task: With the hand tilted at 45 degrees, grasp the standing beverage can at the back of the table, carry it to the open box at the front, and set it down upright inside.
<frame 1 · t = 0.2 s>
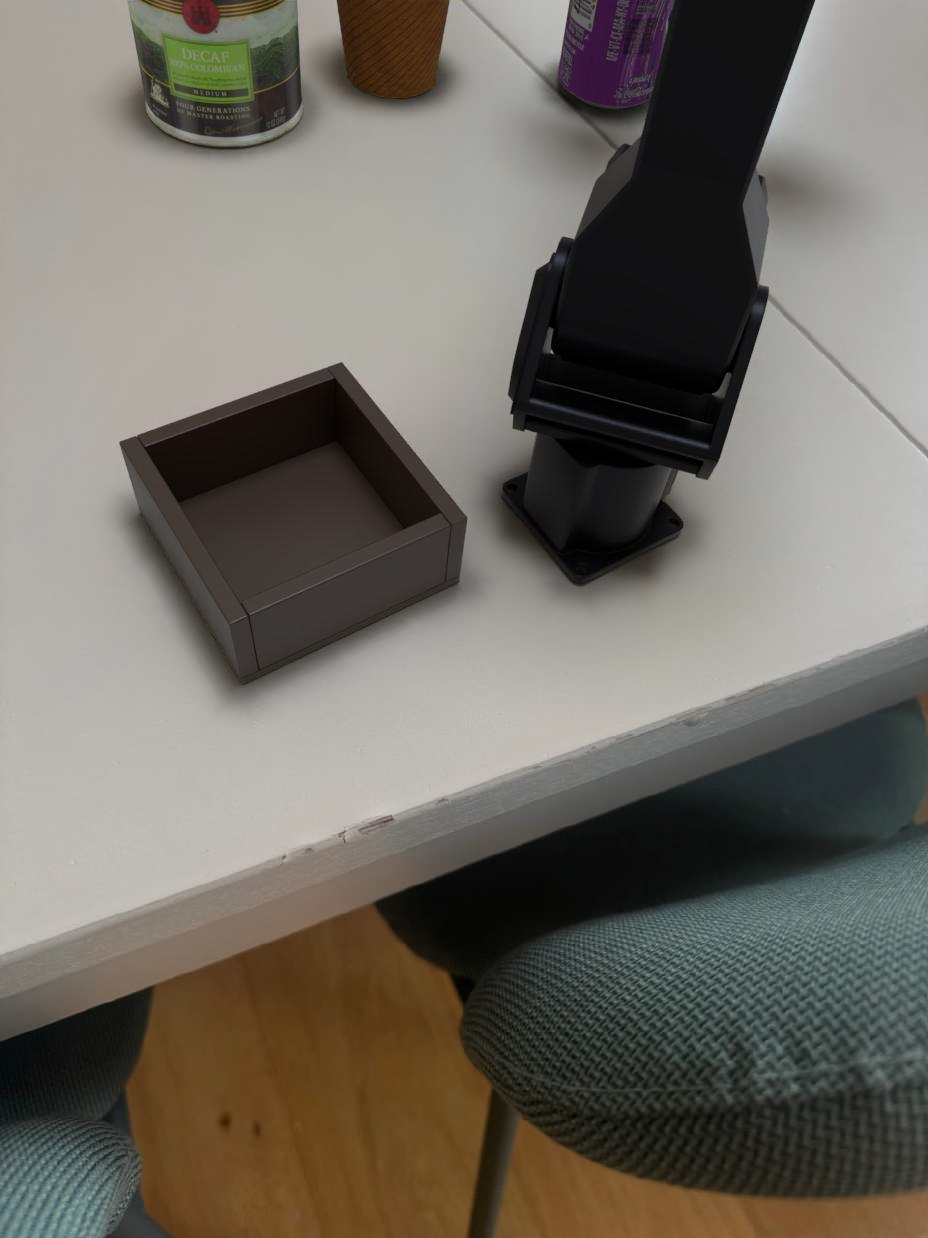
open box: (298, 546, 43), on the table
coffee can: (227, 108, 63), on the table
beverage can: (604, 93, 68), on the table
disposable coffee cup: (391, 78, 67), on the table
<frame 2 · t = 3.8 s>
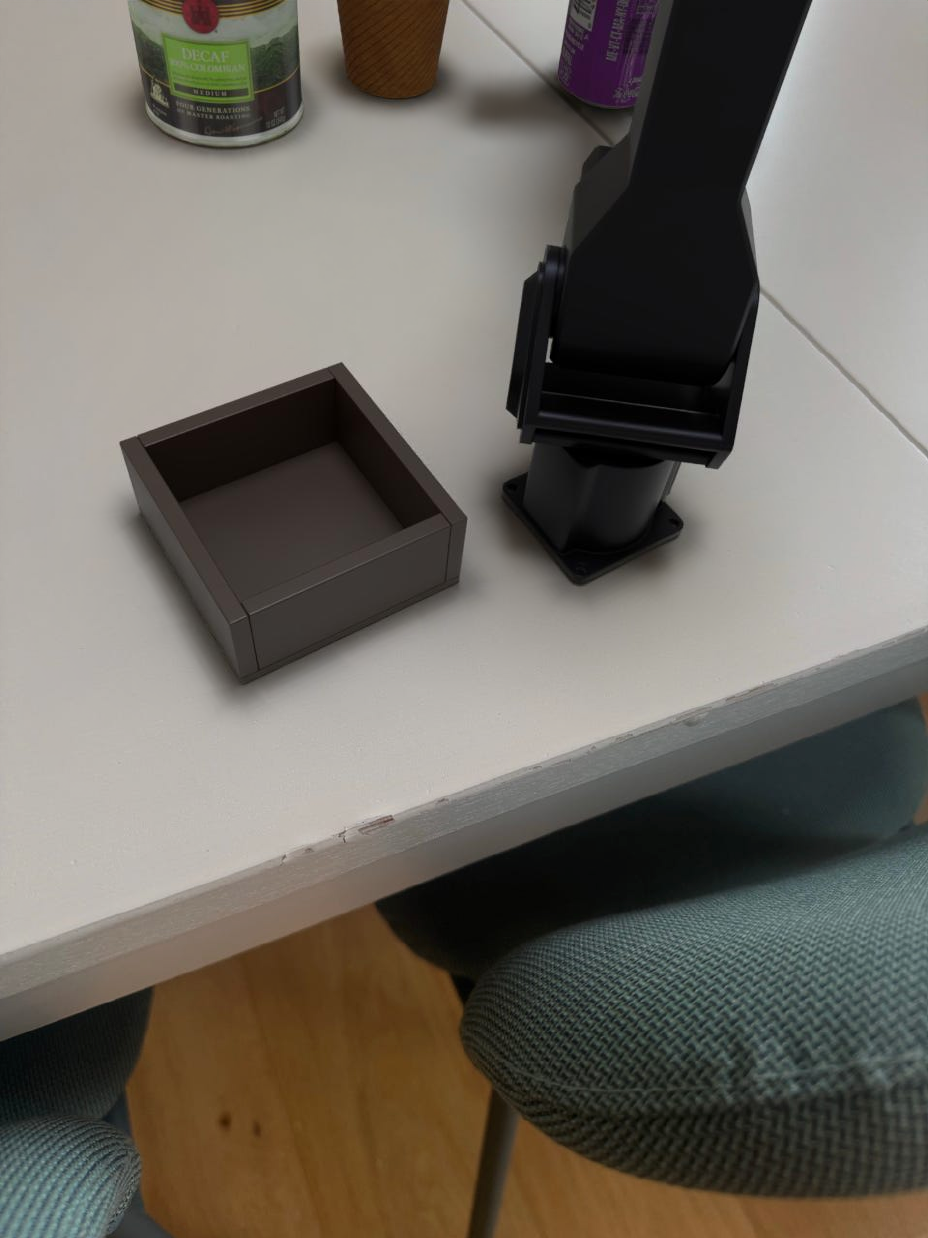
beverage can: (604, 93, 68), on the table, touching gripper
everything else where it was.
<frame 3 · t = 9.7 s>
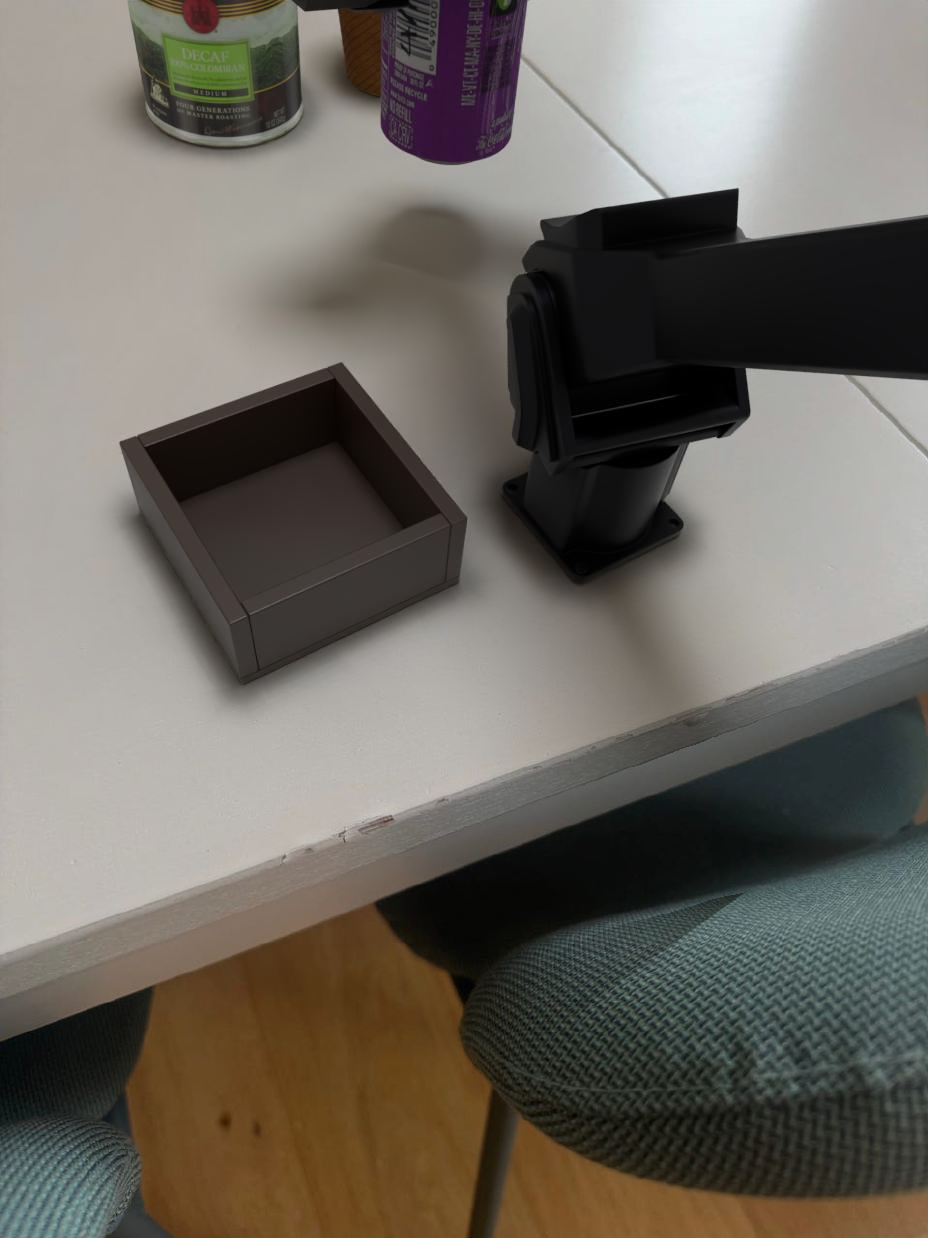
beverage can: (445, 143, 52), point 6 cm above the table, touching gripper
everything else where it was.
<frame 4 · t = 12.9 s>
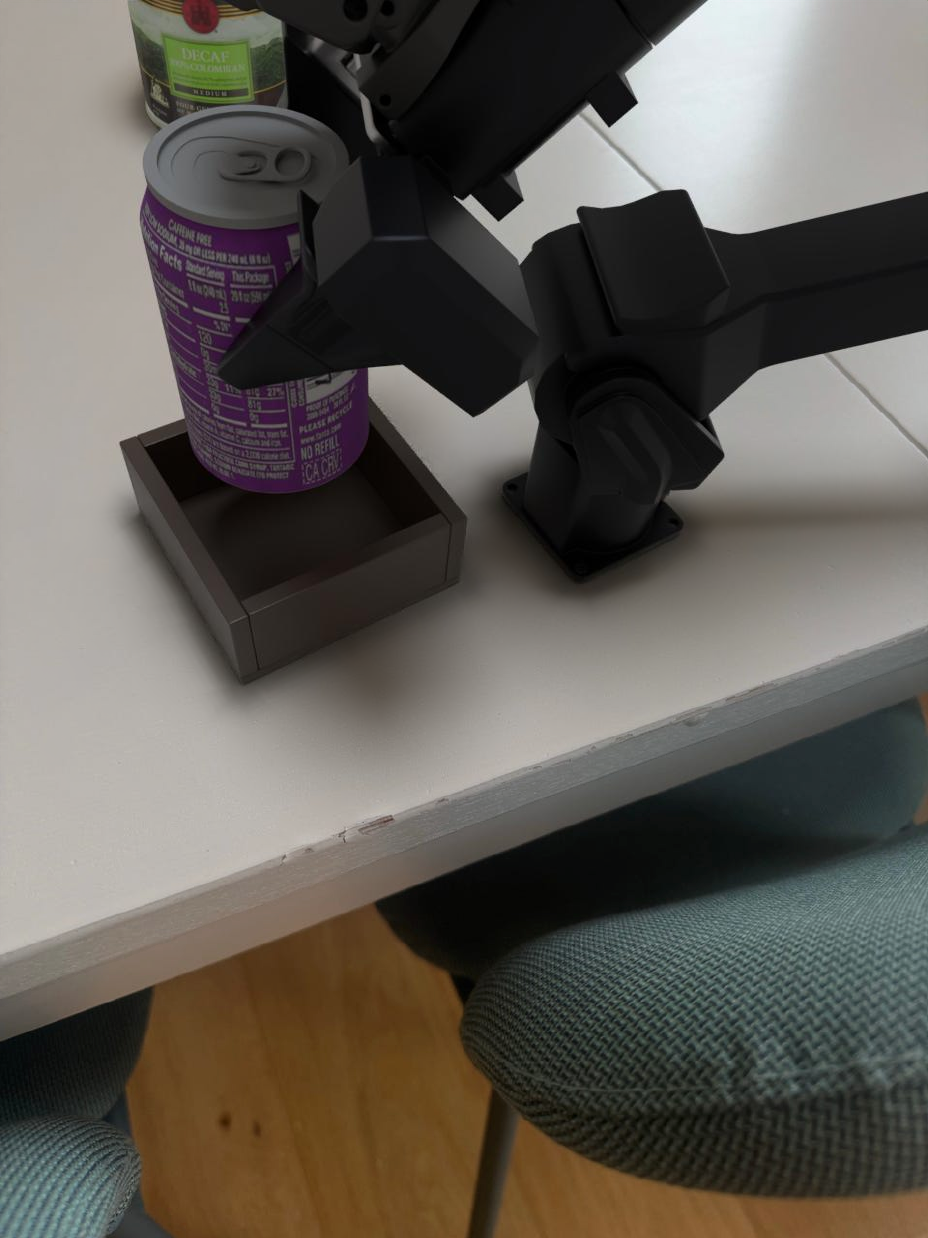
hand: (226, 308, 33), 12 cm above the table, tool tilted 45°, fingers closed on beverage can, 7 cm apart
beverage can: (282, 443, 39), point 6 cm above the table, touching gripper
everything else where it was.
when the fingers open (7 cm above the table, at t = 15.5 s): beverage can stays where it is, resting on open box.
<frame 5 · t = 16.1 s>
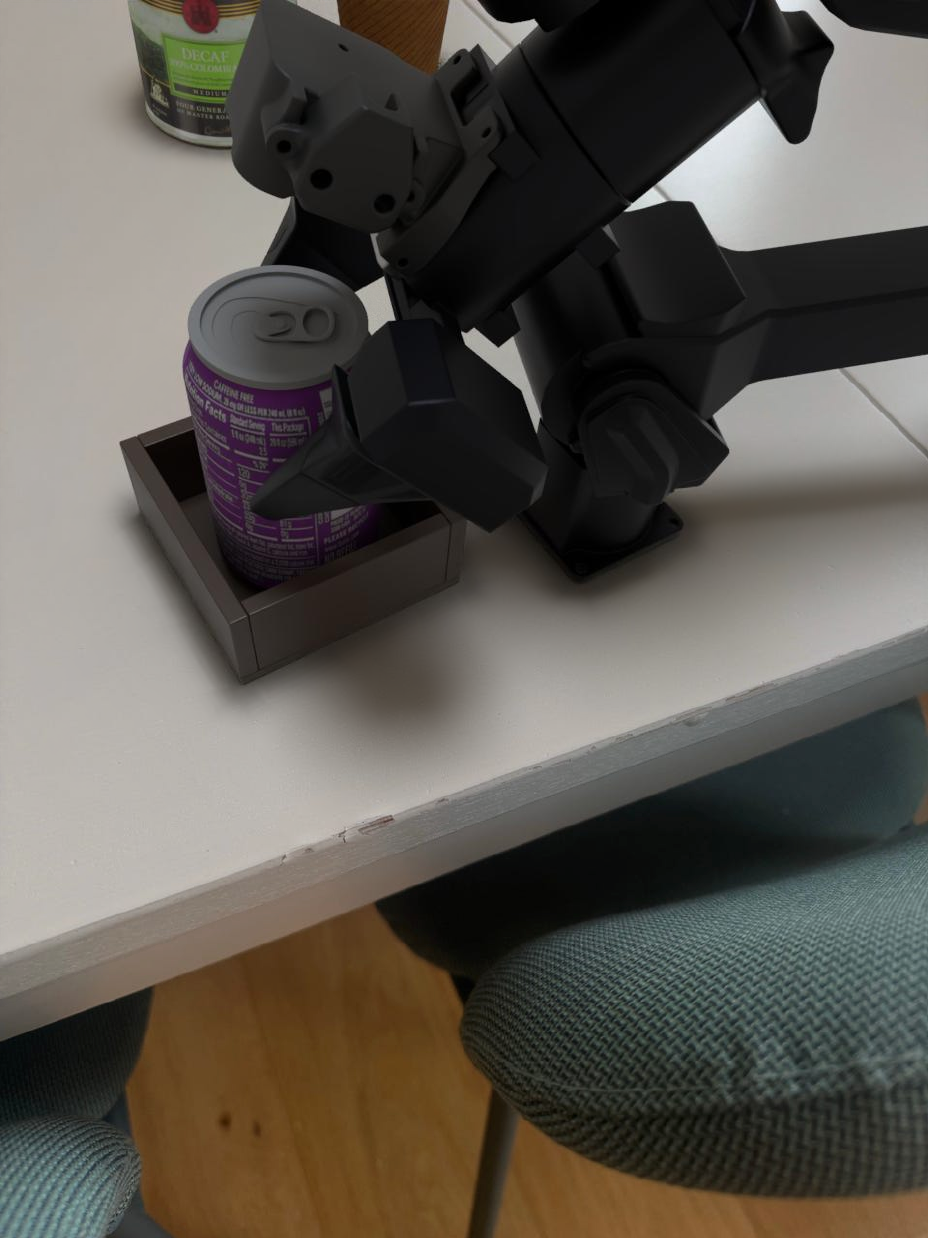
hand: (247, 420, 36), 8 cm above the table, tool tilted 45°, fingers open, 9 cm apart
beverage can: (300, 540, 43), resting on open box
everything else where it was.
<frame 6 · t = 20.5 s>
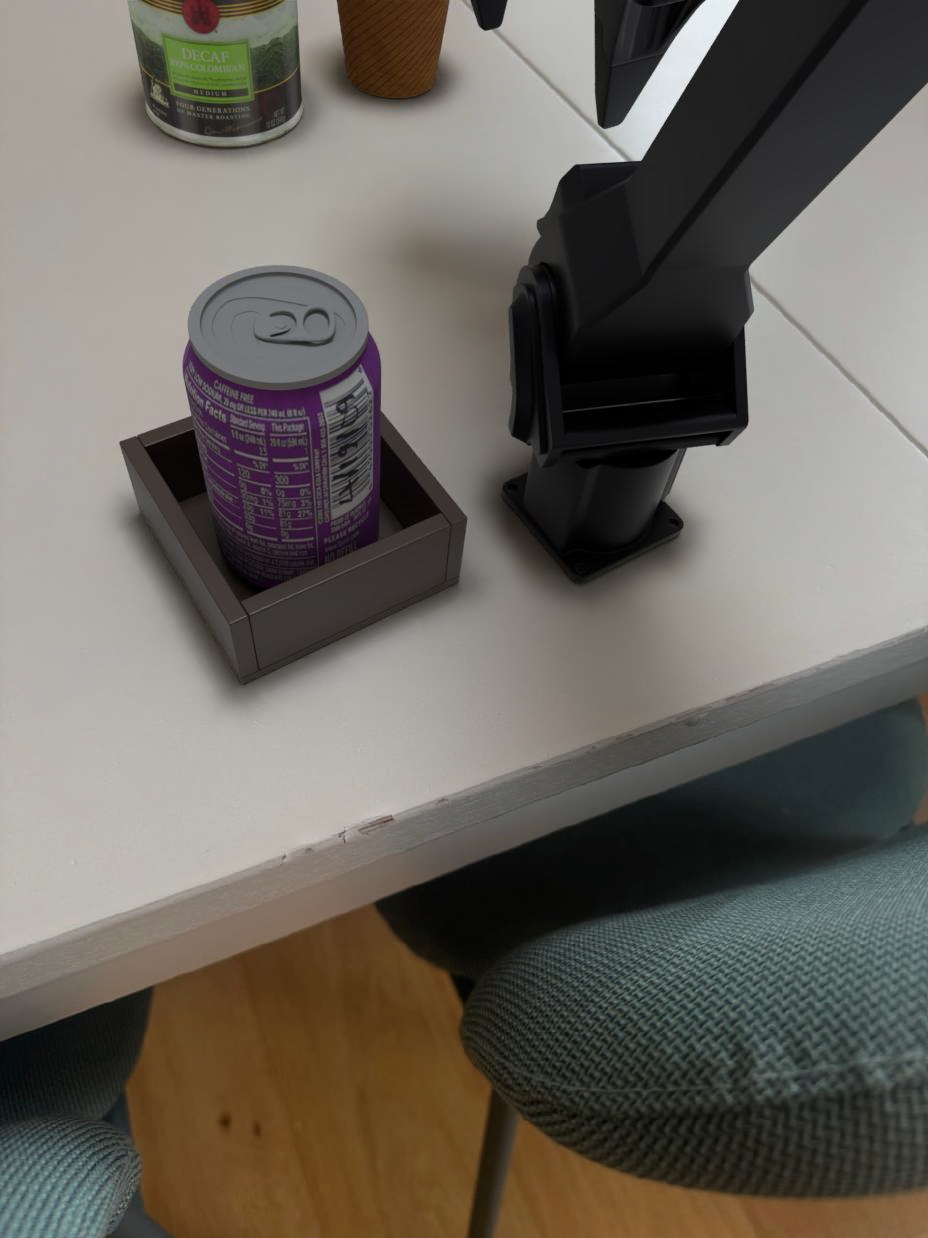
hand: (547, 74, 43), 13 cm above the table, tool pointing down, fingers open, 9 cm apart
nothing on the table moved.
at the end: beverage can 0.1 cm off-centre in the open box, point 0.3 cm above the open box's base; beverage can tilted 0°; the gripper is holding nothing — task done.
